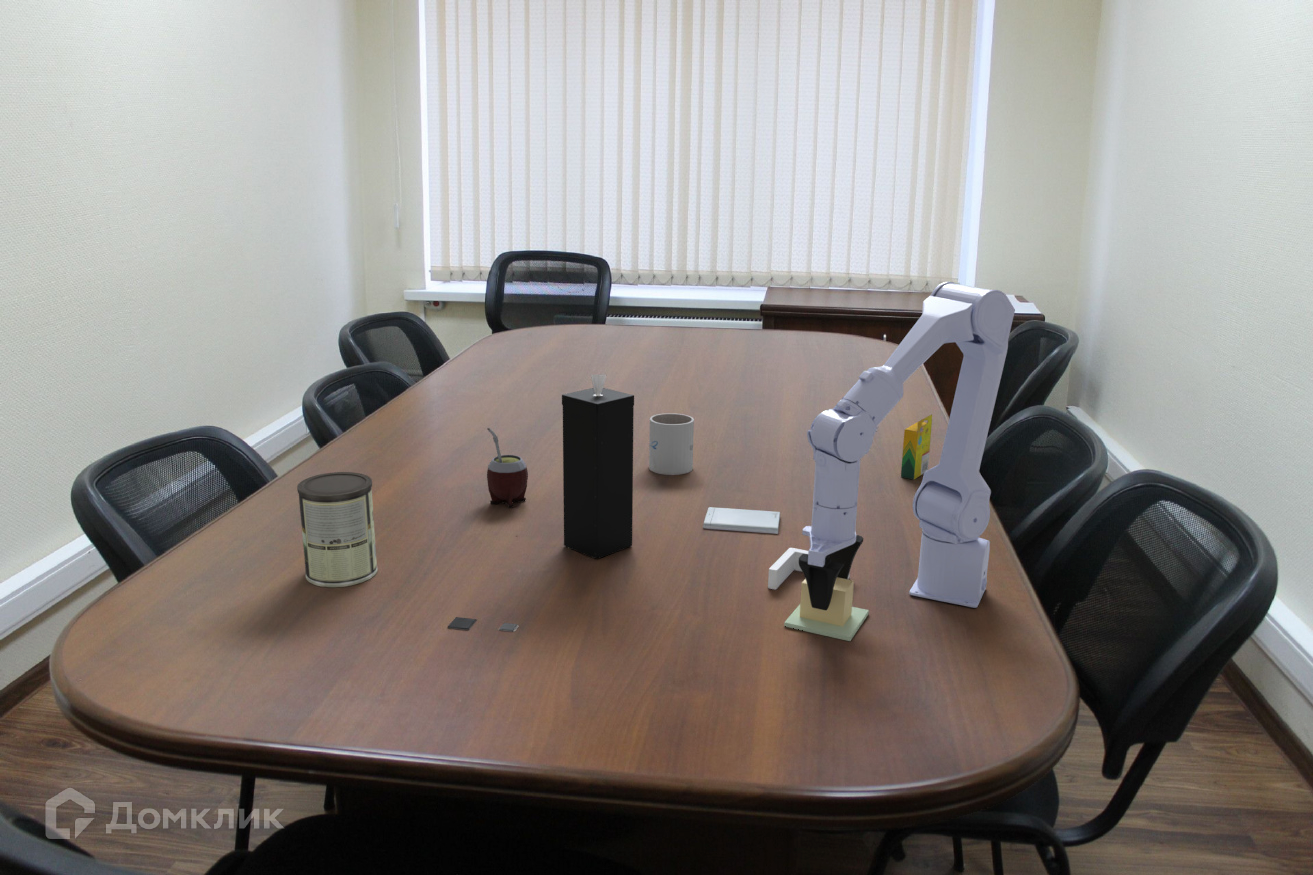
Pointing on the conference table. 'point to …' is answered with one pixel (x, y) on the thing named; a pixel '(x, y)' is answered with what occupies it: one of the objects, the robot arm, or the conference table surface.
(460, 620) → the black square blocks
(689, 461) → the mug
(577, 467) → the tall black box
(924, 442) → the crayon box
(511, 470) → the mate gourd
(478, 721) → the conference table surface
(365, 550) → the coffee can
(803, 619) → the mat
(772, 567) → the frame
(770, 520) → the hard drive
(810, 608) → the block
